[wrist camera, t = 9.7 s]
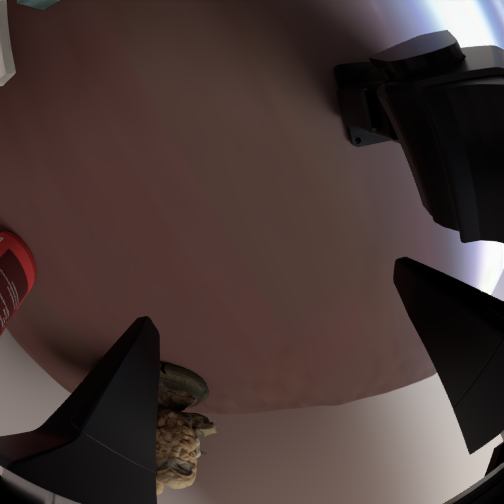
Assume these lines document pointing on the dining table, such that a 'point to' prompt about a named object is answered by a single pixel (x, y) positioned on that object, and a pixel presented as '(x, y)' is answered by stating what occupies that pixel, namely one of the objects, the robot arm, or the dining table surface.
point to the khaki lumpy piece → (179, 427)
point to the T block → (37, 3)
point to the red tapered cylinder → (14, 275)
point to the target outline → (5, 46)
